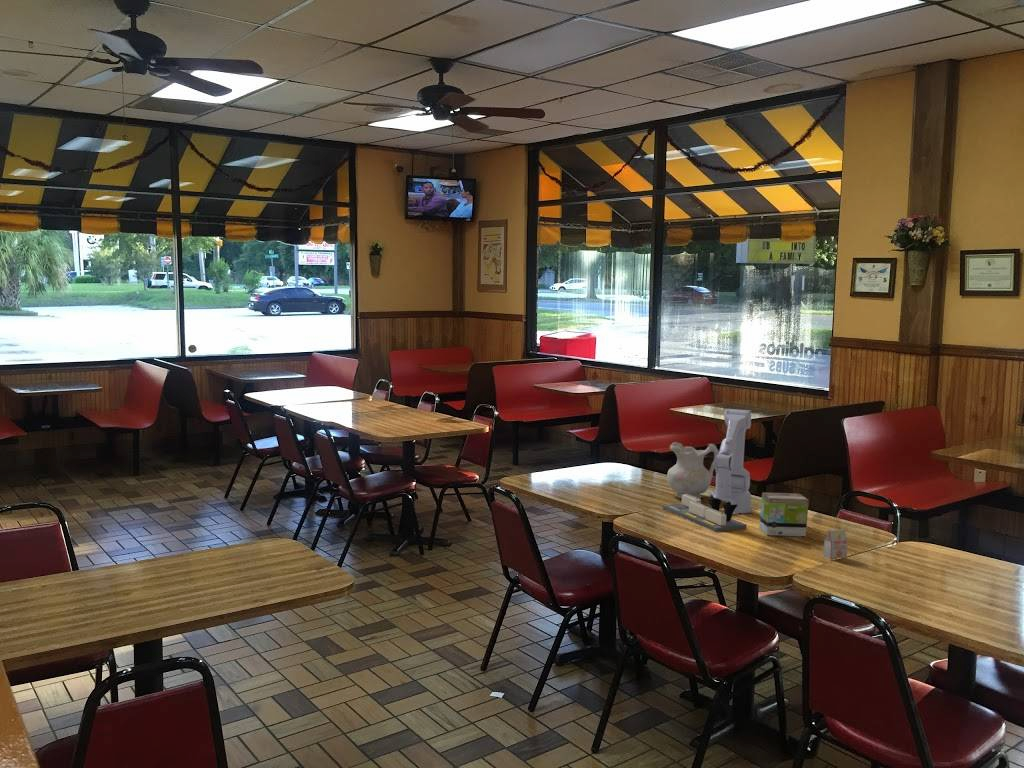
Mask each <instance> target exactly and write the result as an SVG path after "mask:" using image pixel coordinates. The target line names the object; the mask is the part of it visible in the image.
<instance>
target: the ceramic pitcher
mask: <svg viewBox="0 0 1024 768" xmlns="http://www.w3.org/2000/svg"><path fill="white" fill-rule="evenodd" d="M669 450H670V451H672V452H673V453H674V454H675V456H676V458H677V459H676V464H674V465H673V466H672V467H670V468H669V469H668V471H667V475H666V479H667V484H668V485H669V487H670V489H671V490H672V491H673V492H675V494H676V495H675V497H676V498H678V499H680V498H681V500H682V495H685V494H689V495H691V496H694V497H696V498H698V499H700V500H702V499H701V497H702V496H701V494H703V493H706V492H707V491H708V489H709V488H710V486H711V482H712V479H713V475H714V470H715V457H716V455H718V454H719V451H720V450H719V449H718V448H717V445H716V444H715V443H708V444H707V448H706V449H704V450H703V449H698V450H697V449H696V448H694V447H693V446H684V445H683V444H682V443H679V442H677V441H675V442H672V443H671V444H670V445H669ZM709 453H713V461H712V462H711V464H710V468H709V469H707V468H706V467H705V465H704V458H705V456H706V455H708V454H709Z"/></svg>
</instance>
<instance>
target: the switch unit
mask: <svg viewBox="0 0 1024 768" xmlns="http://www.w3.org/2000/svg"><path fill="white" fill-rule="evenodd" d="M664 509H666V510H668V511H670V512H669V513H671V512H672V514H673V513H674V514H673V515H675V514H677V515H676V516H678V515H679V516H678V517H680V516H681V518H682V517H683V518H682V519H685V518H686V519H685V520H687V519H688V520H687V521H689V520H690V522H691V523H694V522H695V523H694V524H696V523H697V524H696V525H698V524H699V526H701V525H702V526H701V527H703V526H704V527H703V528H705V527H706V528H705V529H708V528H709V530H710V529H711V530H710V531H712V530H713V531H712V532H715V533H718V532H717V531H719V532H726V531H725V530H728V531H734V529H737V530H745V529H744V528H746V529H747V524H745V523H743V522H740V521H737V520H735V519H734V518H731V520H730V521H726V525H718V524H716V523H713V522H711V521H709V520H706V519H705V518H703V517H700V516H698V515H695V514H693V513H691V512H689V507H687V506H685V505H683V504H682V503H676V504H665V505H663V504H662V510H664ZM666 510H665V511H666ZM668 511H667V512H668Z"/></svg>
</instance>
